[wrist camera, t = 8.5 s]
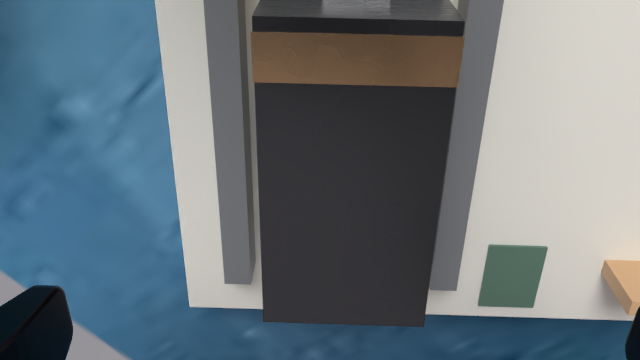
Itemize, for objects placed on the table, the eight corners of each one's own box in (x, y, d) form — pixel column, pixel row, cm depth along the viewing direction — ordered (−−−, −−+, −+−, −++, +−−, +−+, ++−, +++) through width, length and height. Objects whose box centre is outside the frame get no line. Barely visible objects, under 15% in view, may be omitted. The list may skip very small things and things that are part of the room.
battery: (408, 235, 18) (424, 327, 15) (276, 231, 18) (261, 322, 15) (437, -38, 14) (469, -1, 11) (270, -42, 15) (249, -6, 11)
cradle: (689, 276, 22) (766, 369, 18) (204, 261, 22) (175, 350, 18) (863, -160, 15) (1046, -163, 11) (163, -173, 16) (104, -182, 12)
